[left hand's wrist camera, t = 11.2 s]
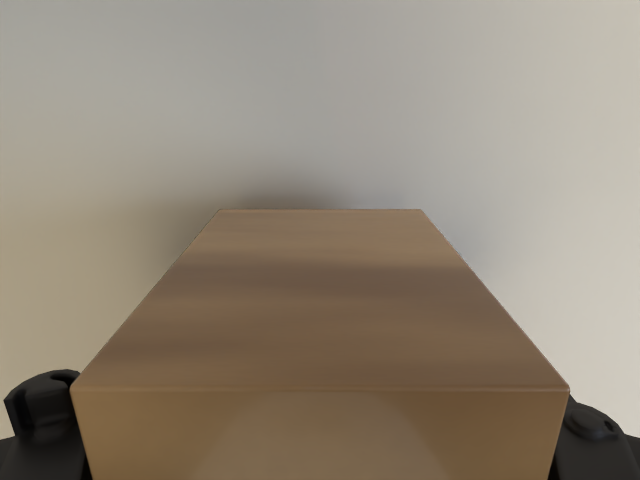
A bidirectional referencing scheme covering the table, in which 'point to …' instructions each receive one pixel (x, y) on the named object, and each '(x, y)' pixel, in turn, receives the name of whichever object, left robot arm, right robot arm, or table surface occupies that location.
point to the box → (319, 361)
